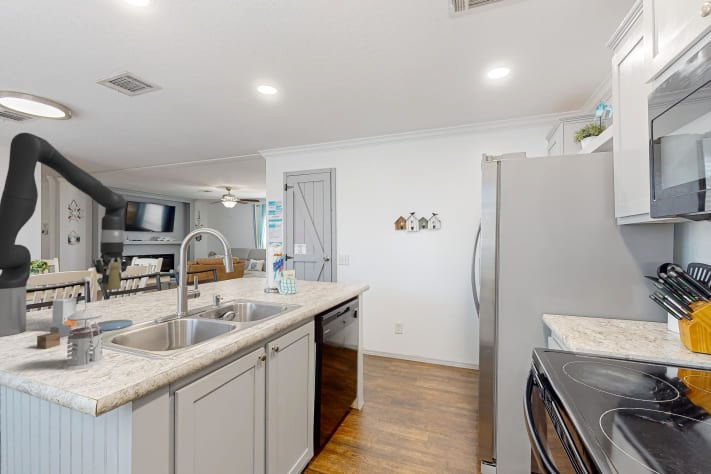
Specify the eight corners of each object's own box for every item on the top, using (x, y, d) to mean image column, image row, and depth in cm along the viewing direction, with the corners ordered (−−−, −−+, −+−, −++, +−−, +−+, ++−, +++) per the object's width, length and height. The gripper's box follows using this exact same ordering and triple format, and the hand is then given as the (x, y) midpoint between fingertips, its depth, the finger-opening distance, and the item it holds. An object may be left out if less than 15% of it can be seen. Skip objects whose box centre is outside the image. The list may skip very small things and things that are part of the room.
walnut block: (36, 348, 105) (37, 335, 105) (51, 344, 109) (51, 332, 109) (46, 349, 104) (46, 336, 104) (59, 345, 108) (60, 333, 108)
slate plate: (79, 329, 126) (79, 327, 126) (114, 320, 139) (114, 318, 139) (108, 332, 122) (108, 330, 122) (140, 323, 136) (140, 320, 136)
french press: (97, 354, 100) (98, 274, 100) (115, 362, 94) (116, 276, 94) (56, 365, 92) (57, 277, 92) (73, 374, 86) (74, 280, 86)
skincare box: (62, 331, 123) (63, 300, 123) (51, 331, 123) (52, 300, 123) (76, 327, 129) (77, 297, 129) (66, 327, 129) (66, 297, 129)
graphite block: (50, 337, 116) (50, 326, 116) (62, 334, 120) (62, 323, 120) (58, 338, 115) (58, 327, 115) (70, 335, 119) (71, 324, 119)
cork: (124, 287, 134) (125, 261, 134) (112, 290, 128) (112, 262, 128) (111, 287, 134) (111, 261, 134) (98, 289, 128) (98, 262, 128)
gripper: (121, 241, 139) (120, 280, 139) (86, 241, 125) (86, 285, 125) (135, 241, 137) (134, 281, 137) (102, 241, 123) (101, 286, 123)
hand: (111, 283), depth 131 cm, fingers closed on cork, 4 cm apart
